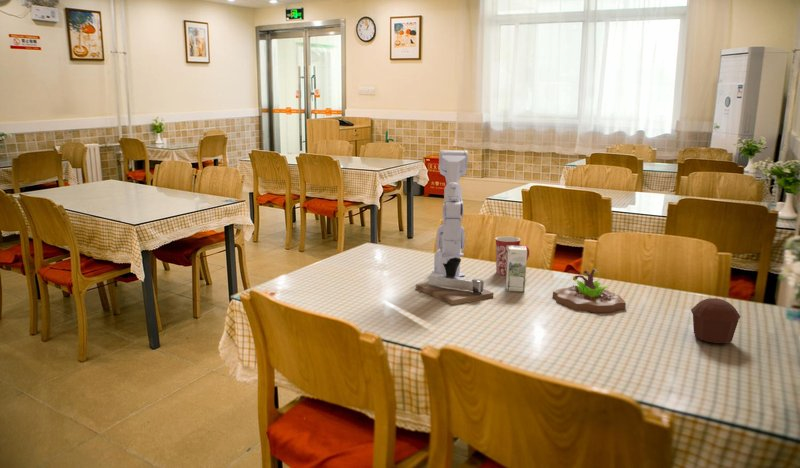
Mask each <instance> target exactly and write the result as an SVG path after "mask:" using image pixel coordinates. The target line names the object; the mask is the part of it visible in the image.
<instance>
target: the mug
mask: <svg viewBox="0 0 800 468" xmlns="http://www.w3.org/2000/svg"><path fill="white" fill-rule="evenodd" d="M520 242H521V238H520V237H516V236H497V237H495V262H496V263H495V266H496V267H495V269H496V270H495V272H496V274H497V275H499V276H504V277H506V274H507V257H508V246H525V247H526V249H527V260H528V259H529V257H530V249H529V247H528V246H527V245H524V244H522V245H520V244H521V243H520Z"/></svg>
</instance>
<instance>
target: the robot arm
mask: <svg viewBox="0 0 800 468" xmlns="http://www.w3.org/2000/svg"><path fill="white" fill-rule="evenodd" d="M438 153H439V157H438V167H439V174H440V175H442V176H443V177H445V183H446V185H445V186H444V188H443V189H444V191H443V192H444V193H443V197H444V198H443V202H442V224H441V225H439V226H438V227H437V233H436V248H437V250H436V251H435V253H434V257H433V259H434V261H433V271H431V274H432V273H434V274H441V275H448V276H455V277H465V276H466V275H465V274H464V273H462V272H461V262H462V259H461V258H462V257H464V256H465V253H463V250H464V249H465V247H466V246H465V242H466V234H465V228H464V226H462V223H463V222H462V220H463V219H464V210H465V209H464V207H465V206H464V201H463V188H462V186H461V185H460V183H459V181H460V178H461V177H462V176H465V175H466V173H467V172H468V171H467V170H468V163H469V152H468V150H466V149H465V150H457V149H456V150H449V149H440V151H439V152H438Z"/></svg>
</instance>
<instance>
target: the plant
mask: <svg viewBox="0 0 800 468" xmlns="http://www.w3.org/2000/svg"><path fill="white" fill-rule="evenodd" d="M582 273H583V275H580V274H579V275H574V276H573V277H572V281H573V282H574V281H575V282H576V283H577V285H576V284H575V285H574V284H573V285H572V286H569V287H563V288H558V289H555V290H554V291H552V298H553V299H555V302H556V303H558V304H560V305H562V306H565V307H567V308H570V309H571V310H575V311H582V312H587V313H591V314H592V313H593V314H594V313H595V314H601V313H604V314H605V313H607V314H608V313H613V312H614V311H616V310H617V311H624V310H626V306H627V305H626V304H627V303H626V301H625V300H624V298H622V297H621V296H620V295H618V294H616V293H615V292H612V291H609V290H608V289H607V288H608V286H607V285H605V286H601V283H602V282H598V280H596V281H594V276H599V275H600V271H599V270H597V269H595V268H593V269H592V270H591V272H589V271H588V270H587V269H585V270H584V271H583V272H582ZM584 276H587V278H586V277H584ZM578 278H581V279H583V282H582V281H581V280H578Z"/></svg>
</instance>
